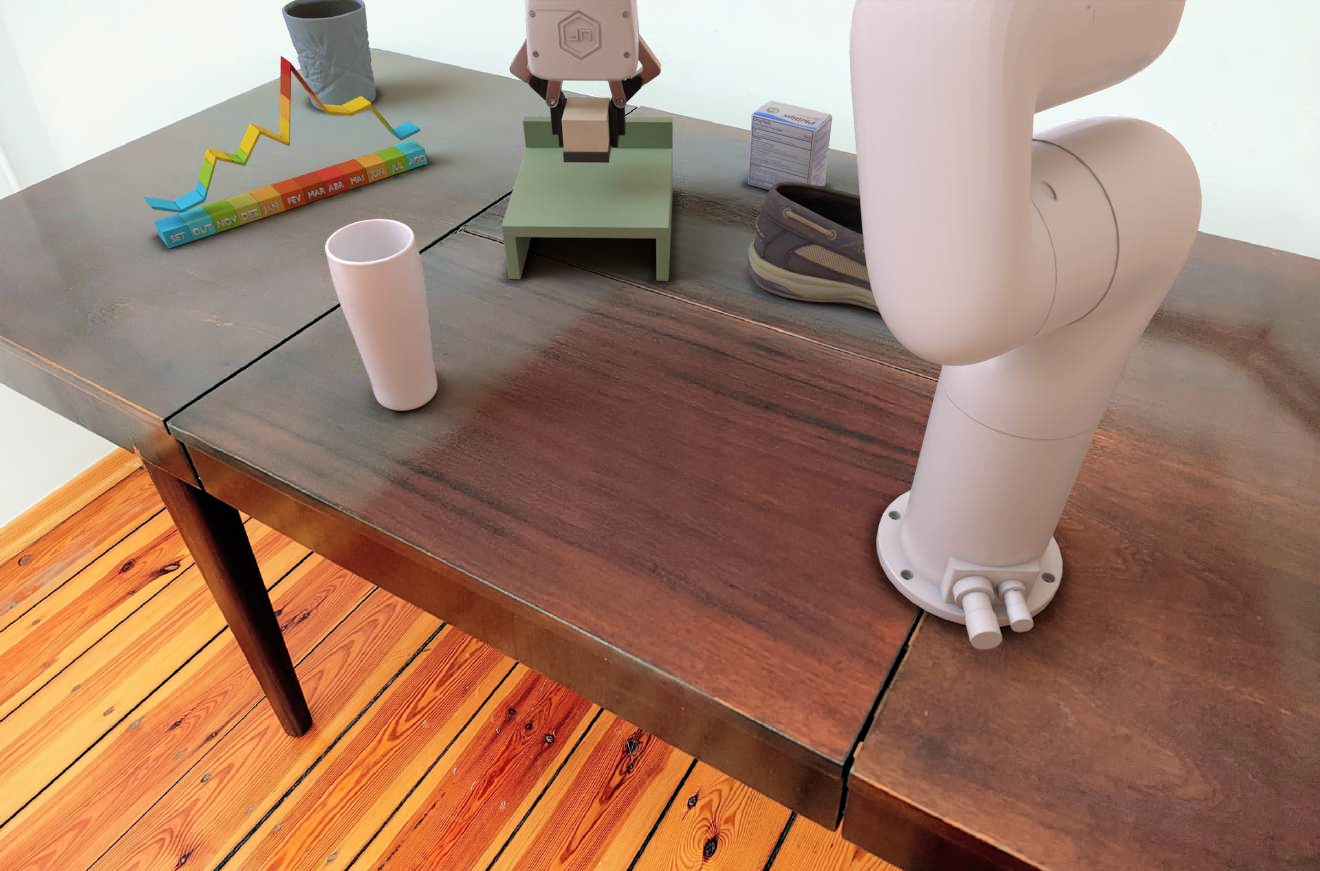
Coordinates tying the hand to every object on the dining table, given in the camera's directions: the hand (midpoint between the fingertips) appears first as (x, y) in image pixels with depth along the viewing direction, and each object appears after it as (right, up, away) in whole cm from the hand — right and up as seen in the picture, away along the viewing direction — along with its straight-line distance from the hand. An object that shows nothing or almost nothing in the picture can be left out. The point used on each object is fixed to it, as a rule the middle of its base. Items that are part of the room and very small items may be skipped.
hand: (589, 139), depth 92 cm
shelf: (0, -8, +7) cm, 11 cm away
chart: (-34, -3, +13) cm, 36 cm away
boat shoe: (+30, -16, -2) cm, 34 cm away
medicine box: (+21, -1, +15) cm, 26 cm away
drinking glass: (-15, -26, -12) cm, 32 cm away
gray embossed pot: (-36, +16, +34) cm, 52 cm away
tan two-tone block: (0, 0, 0) cm, 0 cm away
